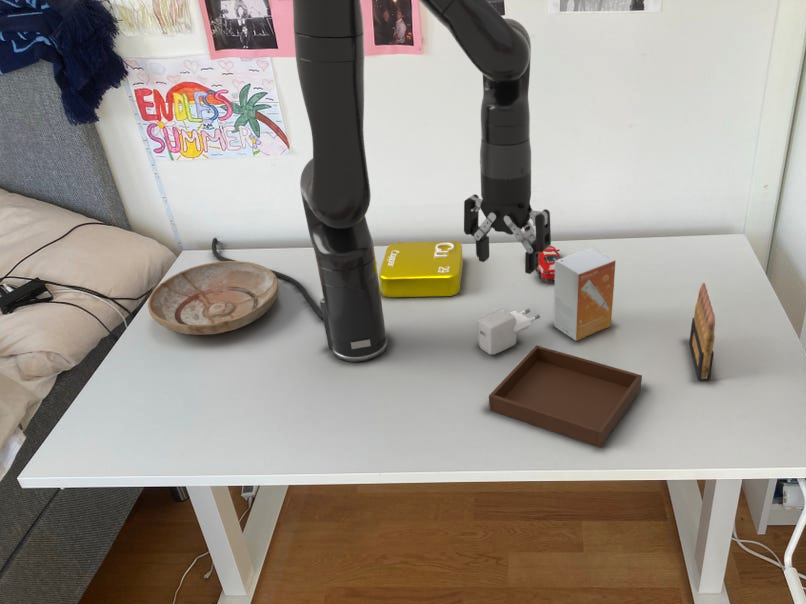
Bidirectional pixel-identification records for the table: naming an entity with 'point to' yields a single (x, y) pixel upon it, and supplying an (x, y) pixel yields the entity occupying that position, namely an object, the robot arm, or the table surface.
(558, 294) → the small box
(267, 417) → the table surface
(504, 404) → the tray
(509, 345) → the power adapter
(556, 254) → the race car
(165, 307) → the ceramic bowl
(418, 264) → the element tile
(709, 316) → the ammunition clip
